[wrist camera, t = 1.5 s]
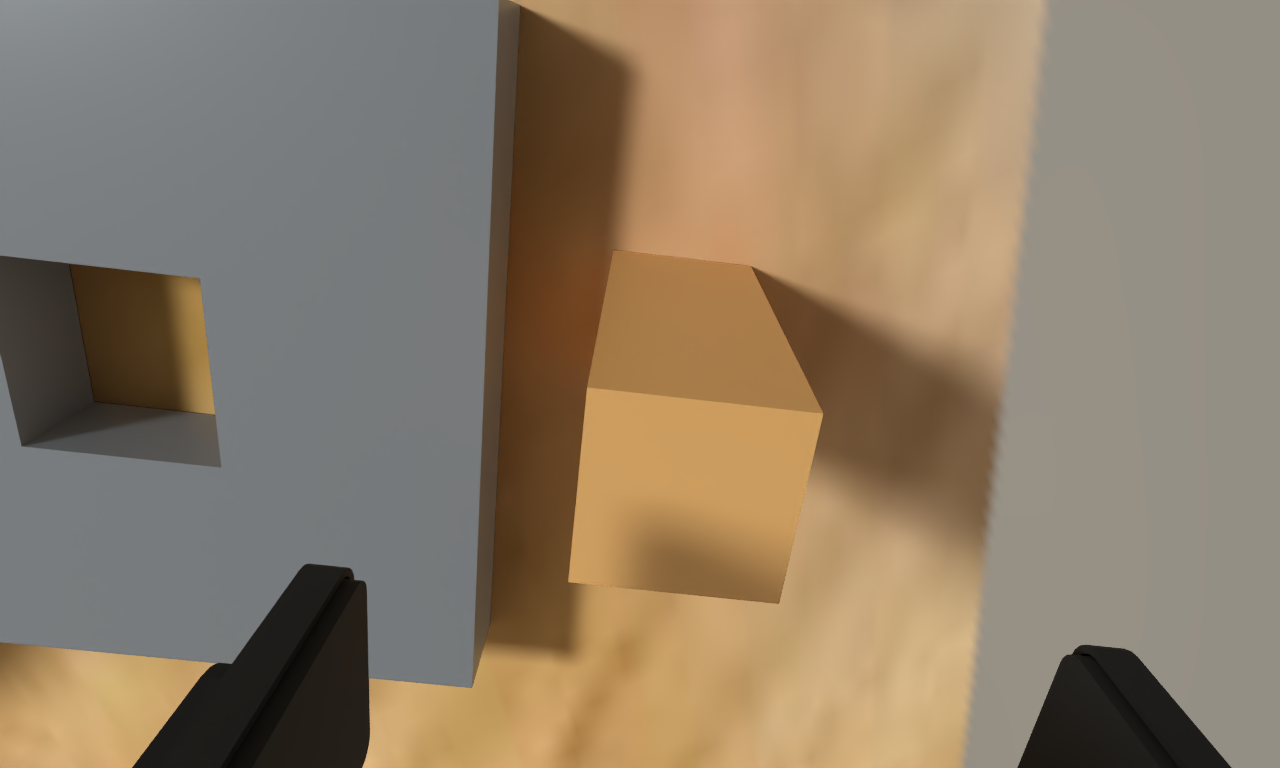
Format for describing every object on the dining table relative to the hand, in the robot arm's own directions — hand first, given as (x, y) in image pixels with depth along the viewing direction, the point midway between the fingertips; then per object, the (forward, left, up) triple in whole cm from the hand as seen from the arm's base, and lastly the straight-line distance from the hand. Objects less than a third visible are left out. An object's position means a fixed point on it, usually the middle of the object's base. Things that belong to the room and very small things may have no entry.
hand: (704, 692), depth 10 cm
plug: (-1, 0, -14) cm, 14 cm away
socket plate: (+1, -15, -14) cm, 21 cm away
